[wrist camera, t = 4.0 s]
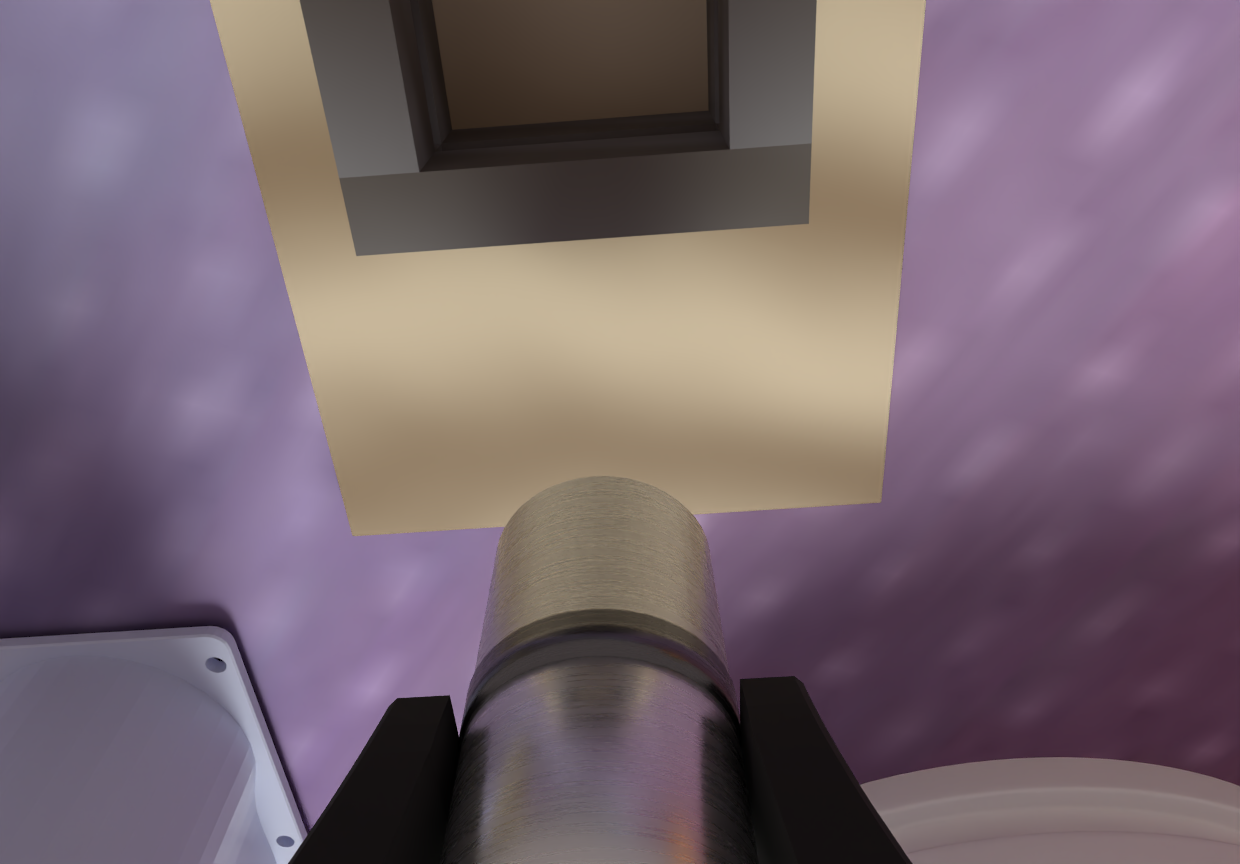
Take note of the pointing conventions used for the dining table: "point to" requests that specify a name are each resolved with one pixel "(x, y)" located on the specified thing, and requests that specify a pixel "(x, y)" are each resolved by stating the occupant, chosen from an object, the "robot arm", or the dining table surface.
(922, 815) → the plate stack
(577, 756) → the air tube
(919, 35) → the wooden board with holder
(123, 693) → the robot arm
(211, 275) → the dining table surface
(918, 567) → the dining table surface
